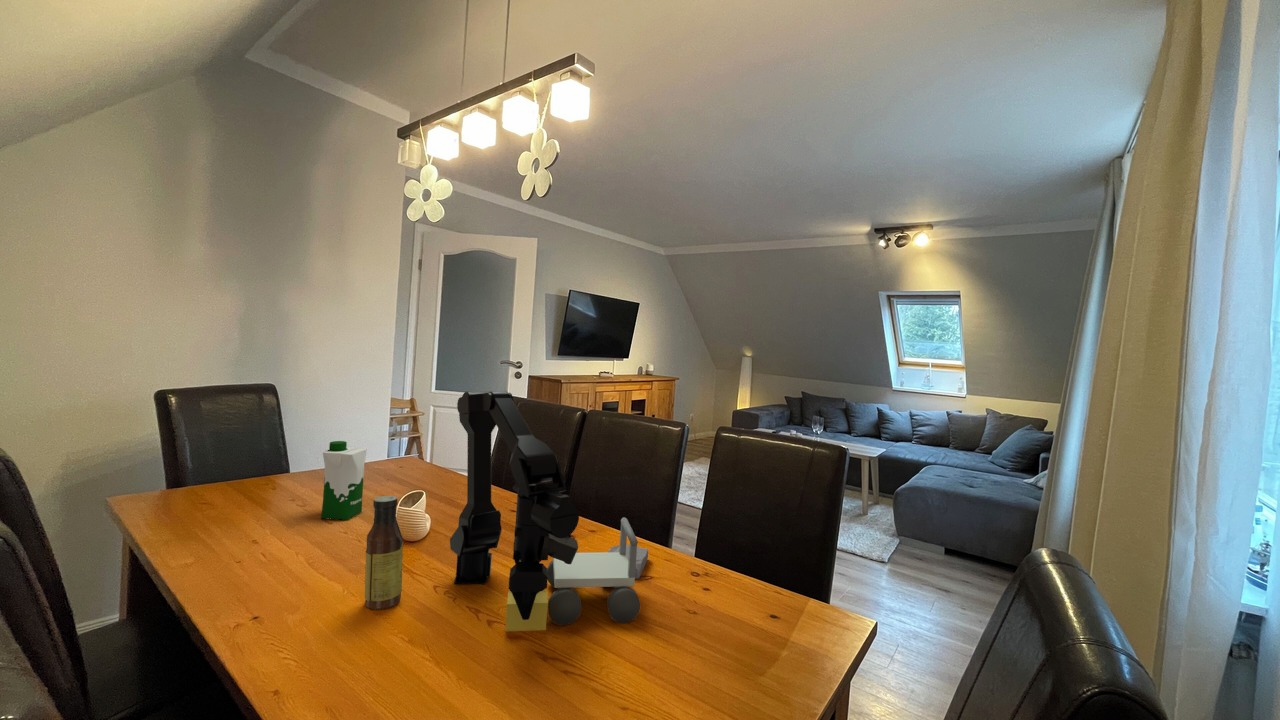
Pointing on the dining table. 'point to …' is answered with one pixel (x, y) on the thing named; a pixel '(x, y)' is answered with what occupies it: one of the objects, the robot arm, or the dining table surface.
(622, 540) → the trolley
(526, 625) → the chock
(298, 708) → the dining table surface
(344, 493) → the milk carton
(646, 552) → the stone block
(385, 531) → the sauce bottle
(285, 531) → the dining table surface
